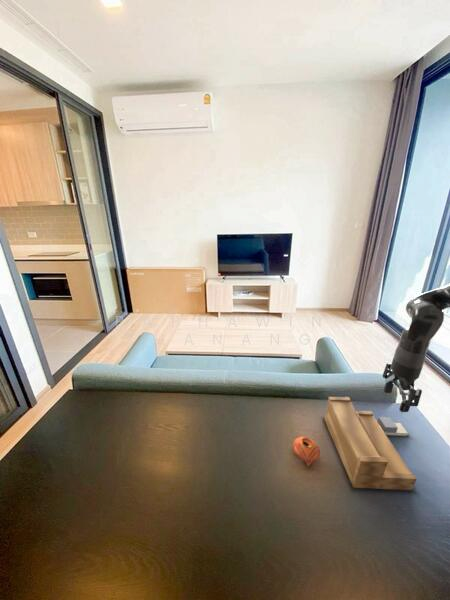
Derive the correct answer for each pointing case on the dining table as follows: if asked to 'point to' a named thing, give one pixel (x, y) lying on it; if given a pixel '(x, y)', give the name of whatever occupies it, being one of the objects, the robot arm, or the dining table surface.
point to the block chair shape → (391, 427)
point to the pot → (306, 449)
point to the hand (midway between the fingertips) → (394, 401)
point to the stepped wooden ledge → (365, 448)
